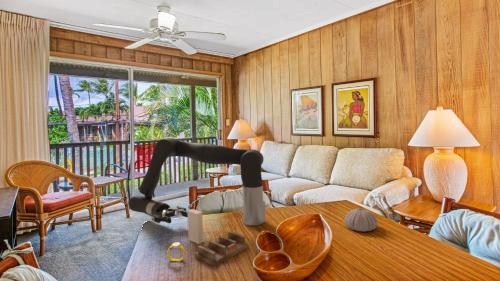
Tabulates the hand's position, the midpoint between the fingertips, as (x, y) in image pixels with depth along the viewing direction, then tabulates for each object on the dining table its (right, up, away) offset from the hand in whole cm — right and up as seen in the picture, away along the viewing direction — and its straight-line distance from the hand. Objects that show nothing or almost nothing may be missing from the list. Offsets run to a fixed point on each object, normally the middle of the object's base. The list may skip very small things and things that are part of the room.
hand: (179, 217), depth 115 cm
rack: (+20, -8, -16) cm, 26 cm away
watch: (+4, -9, -21) cm, 23 cm away
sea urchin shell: (+77, -5, +3) cm, 77 cm away
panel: (+8, -7, -6) cm, 13 cm away
